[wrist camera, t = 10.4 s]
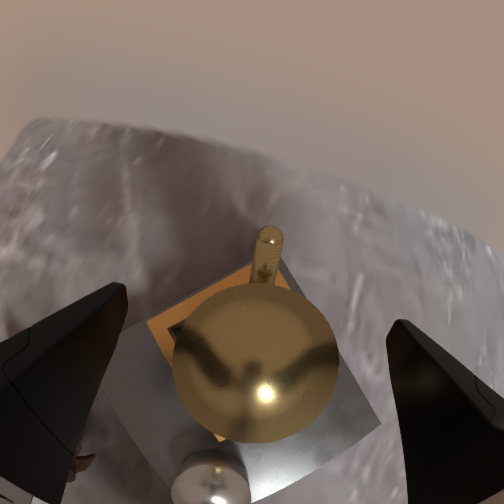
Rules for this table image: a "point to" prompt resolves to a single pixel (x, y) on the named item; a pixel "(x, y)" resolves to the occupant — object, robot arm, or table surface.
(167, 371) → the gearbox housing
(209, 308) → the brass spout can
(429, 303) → the table surface
